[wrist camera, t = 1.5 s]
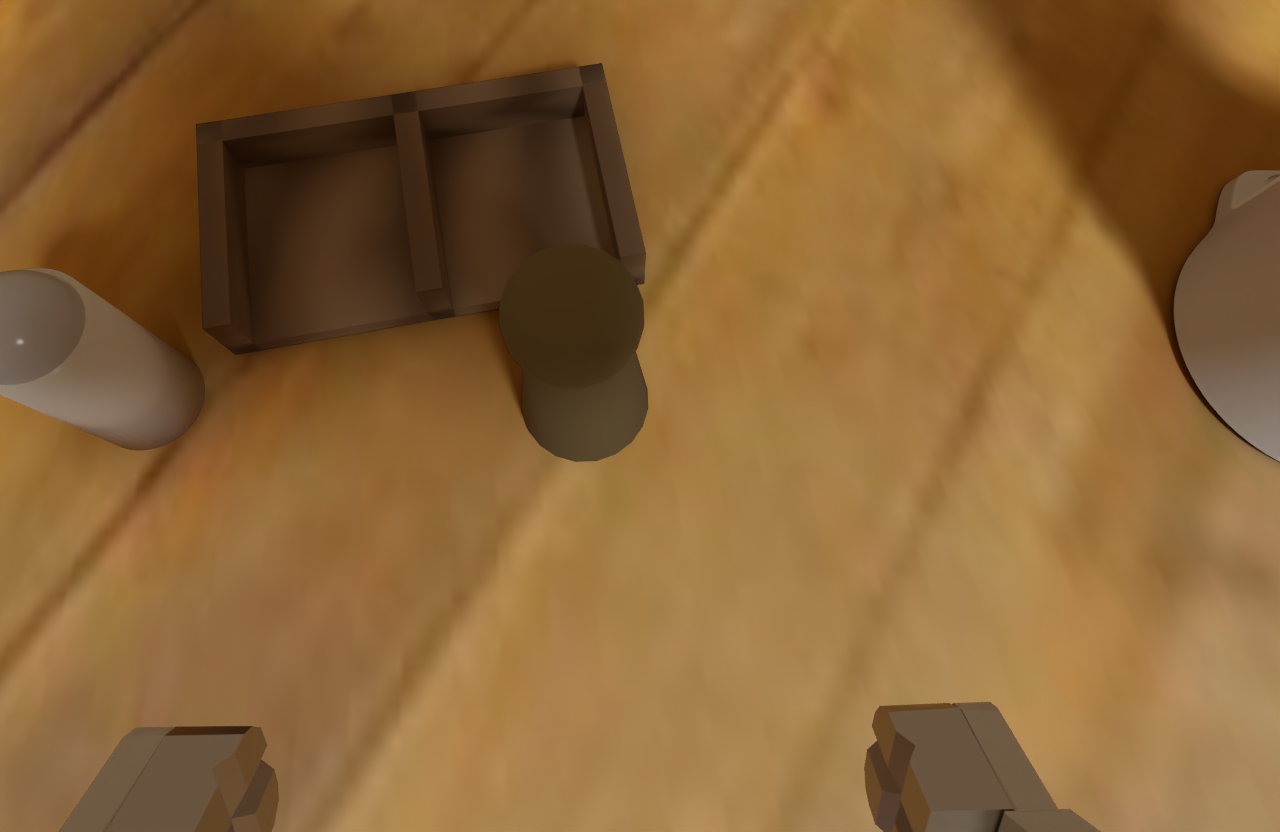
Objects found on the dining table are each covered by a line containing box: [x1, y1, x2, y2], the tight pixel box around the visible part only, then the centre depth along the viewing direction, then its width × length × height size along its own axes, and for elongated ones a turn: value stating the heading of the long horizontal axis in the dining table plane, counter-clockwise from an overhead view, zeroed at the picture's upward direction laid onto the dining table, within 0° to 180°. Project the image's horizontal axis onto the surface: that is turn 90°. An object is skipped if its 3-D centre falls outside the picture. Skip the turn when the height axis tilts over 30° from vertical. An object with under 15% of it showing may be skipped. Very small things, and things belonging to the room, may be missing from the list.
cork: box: [499, 245, 648, 462], centre depth 31 cm, size 6×6×11 cm
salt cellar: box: [0, 268, 205, 450], centre depth 31 cm, size 5×5×10 cm
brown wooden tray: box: [196, 63, 646, 355], centre depth 38 cm, size 20×11×3 cm, turn 101°
